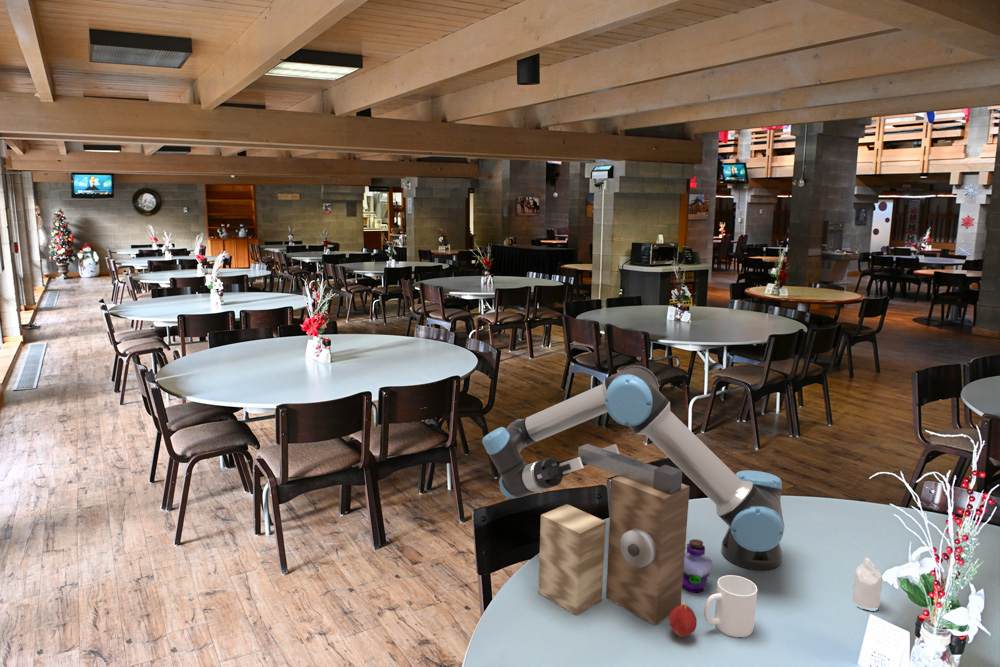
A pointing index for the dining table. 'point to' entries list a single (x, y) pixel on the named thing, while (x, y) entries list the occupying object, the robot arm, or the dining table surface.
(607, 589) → the post
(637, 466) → the grey long bar
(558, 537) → the oak block
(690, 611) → the onion
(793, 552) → the dining table surface
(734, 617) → the cup
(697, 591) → the potion bottle
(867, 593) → the beige pointed piece
